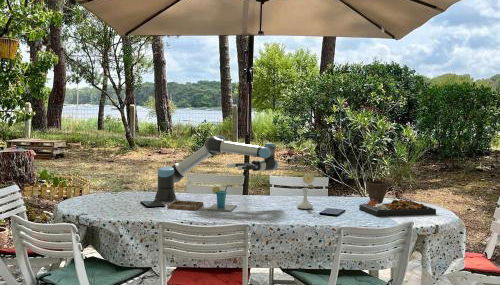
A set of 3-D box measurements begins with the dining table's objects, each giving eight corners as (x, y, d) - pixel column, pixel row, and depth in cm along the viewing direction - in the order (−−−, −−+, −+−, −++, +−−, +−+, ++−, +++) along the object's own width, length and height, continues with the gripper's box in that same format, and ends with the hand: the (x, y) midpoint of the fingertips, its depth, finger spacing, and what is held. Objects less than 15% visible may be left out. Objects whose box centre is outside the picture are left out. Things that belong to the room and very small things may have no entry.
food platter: (376, 217, 409) (377, 202, 408) (359, 210, 432) (359, 196, 431) (435, 215, 422) (436, 200, 421) (415, 208, 446) (416, 194, 445)
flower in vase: (293, 208, 431) (294, 172, 429) (303, 206, 440) (304, 171, 438) (308, 211, 422) (309, 174, 421) (318, 209, 431) (319, 173, 429)
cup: (229, 205, 430) (230, 183, 429) (233, 207, 423) (234, 185, 422) (210, 206, 425) (211, 184, 424) (214, 208, 418) (215, 186, 416)
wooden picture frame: (167, 208, 419) (167, 204, 419) (175, 203, 437) (175, 200, 436) (196, 210, 415) (196, 206, 415) (203, 205, 433) (203, 202, 433)
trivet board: (207, 210, 416) (207, 208, 416) (214, 205, 435) (214, 203, 435) (230, 211, 413) (230, 210, 413) (236, 206, 432) (236, 205, 432)
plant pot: (378, 206, 448) (379, 184, 446) (361, 203, 459) (362, 181, 458) (390, 204, 457) (391, 182, 456) (374, 201, 469) (375, 180, 467)
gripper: (268, 172, 429) (242, 174, 417) (248, 168, 450) (222, 170, 438) (268, 162, 428) (242, 163, 417) (248, 158, 449) (223, 159, 437)
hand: (232, 166), depth 427 cm, fingers open, 13 cm apart
